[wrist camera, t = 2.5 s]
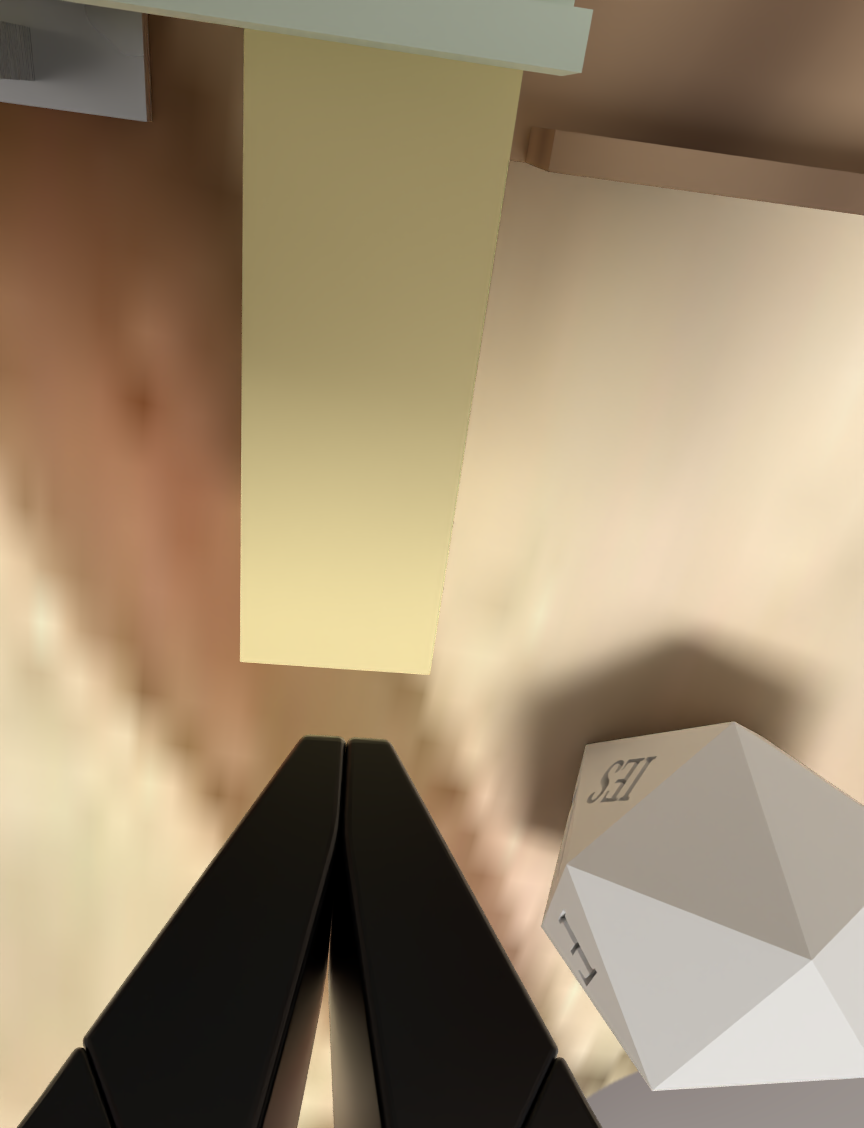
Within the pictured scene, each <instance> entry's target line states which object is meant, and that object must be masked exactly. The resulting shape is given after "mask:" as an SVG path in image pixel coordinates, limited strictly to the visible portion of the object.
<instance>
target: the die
mask: <svg viewBox="0 0 864 1128" xmlns="http://www.w3.org/2000/svg"><path fill="white" fill-rule="evenodd" d="M572 803H573V804H572V807H571V809H570V812H569V815H568V819H567V823H566V828H565V832H564V836H563V840H562V844H561V848H560V852H559V856H558V860H557V864H556V868H555V872H554V876H553V880H552V884H551V888H550V892H549V897H548V901H547V905H546V909H545V913H544V917H543V921H542V925H541V927H542V928H543V930H544V931H545V933H546V934H547V936H548V937H549V939H550V940H551V942H552V943H553V945H554V946H555V948H556V949H557V951H558V952H559V954H560V955H561V957H562V958H563V960H564V961H565V963H566V964H567V966H568V967H569V969H570V970H571V972H572V973H573V974H574V976H575V977H576V979H577V980H578V982H579V983H580V985H581V986H582V988H583V989H584V991H585V992H586V994H587V995H588V997H589V998H590V1000H591V1001H592V1003H593V1004H594V1006H595V1007H596V1009H597V1010H598V1012H599V1013H600V1015H601V1016H602V1017H603V1019H604V1020H605V1022H606V1023H607V1025H608V1026H609V1028H610V1029H611V1031H612V1032H613V1034H614V1035H615V1037H616V1038H617V1040H618V1041H619V1043H620V1044H621V1046H622V1047H623V1049H624V1050H625V1052H626V1053H627V1055H628V1056H629V1058H630V1059H631V1061H632V1062H633V1063H634V1065H635V1066H636V1068H637V1069H638V1071H639V1072H640V1074H641V1075H642V1077H643V1078H644V1080H645V1081H646V1083H647V1084H648V1086H649V1087H650V1089H651V1090H652V1091H658V1090H674V1089H690V1088H705V1087H720V1086H721V1087H722V1086H737V1085H753V1084H768V1083H784V1082H801V1081H816V1080H833V1079H848V1078H864V806H863V805H862V804H861V803H859V802H858V801H856V800H855V799H853V798H852V797H850V796H849V795H847V794H846V793H844V792H843V791H841V790H840V789H839V788H837V787H836V786H834V785H833V784H831V783H830V782H828V781H827V780H825V779H824V778H822V777H821V776H819V775H818V774H817V773H815V772H814V771H812V770H811V769H809V768H808V767H806V766H805V765H803V764H802V763H800V762H799V761H797V760H796V759H795V758H793V757H792V756H790V755H789V754H787V753H786V752H784V751H783V750H781V749H780V748H778V747H777V746H775V745H774V744H773V743H771V742H770V741H768V740H767V739H765V738H764V737H762V736H760V735H759V734H757V733H755V732H753V731H751V730H749V729H747V728H745V727H744V726H742V725H740V724H738V723H736V722H734V721H733V722H727V723H720V724H714V725H708V726H701V727H695V728H689V729H682V730H676V731H669V732H663V733H657V734H650V735H644V736H638V737H631V738H625V739H618V740H612V741H606V742H599V743H593V744H586V746H585V750H584V754H583V759H582V763H581V767H580V771H579V775H578V779H577V783H576V787H575V791H574V795H573V799H572Z"/></svg>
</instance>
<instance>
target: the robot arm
mask: <svg viewBox="0 0 864 1128" xmlns="http://www.w3.org/2000/svg"><path fill="white" fill-rule="evenodd" d="M345 751H346V752H345ZM331 922H332V923H331ZM330 933H331V936H330ZM329 943H330V950H329ZM328 953H329V972H328V981H329V1019H330V1043H331V1068H332V1092H333V1116H334V1128H602V1126H601V1124H600V1123H599V1121H598V1119H597V1117H596V1116H595V1114H594V1112H593V1111H592V1109H591V1107H590V1105H589V1103H588V1102H587V1100H586V1098H585V1096H584V1094H583V1092H582V1091H581V1089H580V1087H579V1085H578V1083H577V1081H576V1080H575V1078H574V1076H573V1074H572V1072H571V1070H570V1069H569V1067H568V1065H567V1063H566V1061H565V1060H564V1059H563V1058H560V1057H559V1058H556V1057H557V1054H558V1048H557V1046H556V1044H555V1042H554V1040H553V1038H552V1037H551V1035H550V1033H549V1031H548V1029H547V1027H546V1026H545V1024H544V1022H543V1020H542V1018H541V1016H540V1015H539V1013H538V1011H537V1009H536V1007H535V1005H534V1004H533V1002H532V1000H531V998H530V996H529V994H528V993H527V991H526V989H525V987H524V985H523V983H522V982H521V980H520V978H519V976H518V974H517V972H516V971H515V969H514V967H513V965H512V963H511V961H510V960H509V958H508V956H507V954H506V952H505V950H504V949H503V947H502V945H501V943H500V941H499V939H498V938H497V936H496V934H495V932H494V930H493V928H492V927H491V925H490V923H489V921H488V919H487V918H486V916H485V914H484V912H483V910H482V908H481V907H480V905H479V903H478V901H477V899H476V897H475V896H474V894H473V892H472V890H471V888H470V886H469V885H468V883H467V881H466V879H465V877H464V875H463V874H462V872H461V870H460V868H459V866H458V864H457V863H456V861H455V859H454V857H453V855H452V853H451V852H450V850H449V848H448V846H447V844H446V842H445V841H444V839H443V837H442V835H441V833H440V831H439V830H438V828H437V826H436V824H435V822H434V820H433V819H432V817H431V815H430V813H429V811H428V809H427V808H426V806H425V804H424V802H423V800H422V798H421V797H420V795H419V793H418V791H417V789H416V788H415V786H414V784H413V782H412V780H411V778H410V777H409V775H408V773H407V771H406V769H405V767H404V766H403V764H402V762H401V760H400V758H399V756H398V755H397V753H396V751H395V749H394V747H393V746H392V744H391V743H390V742H389V741H387V740H385V739H372V738H356V737H354V738H351V739H349V740H348V742H347V744H346V742H345V740H344V739H343V738H342V737H339V736H324V735H306V736H303V737H302V738H301V739H300V740H299V741H298V743H297V744H296V745H295V747H294V748H293V750H292V751H291V752H290V754H289V755H288V757H287V758H286V759H285V761H284V762H283V763H282V765H281V766H280V768H279V769H278V770H277V772H276V773H275V774H274V776H273V777H272V779H271V780H270V781H269V783H268V784H267V785H266V787H265V788H264V790H263V791H262V792H261V794H260V795H259V797H258V798H257V799H256V801H255V802H254V803H253V805H252V806H251V808H250V809H249V810H248V812H247V813H246V814H245V816H244V817H243V819H242V820H241V821H240V823H239V824H238V825H237V827H236V828H235V830H234V831H233V832H232V834H231V835H230V836H229V838H228V839H227V841H226V842H225V843H224V845H223V846H222V848H221V849H220V850H219V852H218V853H217V854H216V856H215V857H214V859H213V860H212V861H211V863H210V864H209V865H208V867H207V868H206V870H205V871H204V872H203V874H202V875H201V876H200V878H199V879H198V881H197V882H196V883H195V885H194V886H193V887H192V889H191V890H190V892H189V893H188V894H187V896H186V897H185V899H184V900H183V901H182V903H181V904H180V905H179V907H178V908H177V910H176V911H175V912H174V914H173V915H172V916H171V918H170V919H169V921H168V922H167V923H166V925H165V926H164V927H163V929H162V930H161V932H160V933H159V934H158V936H157V937H156V938H155V940H154V941H153V943H152V944H151V945H150V947H149V948H148V950H147V951H146V952H145V954H144V955H143V956H142V958H141V959H140V961H139V962H138V963H137V965H136V966H135V967H134V969H133V970H132V972H131V973H130V974H129V976H128V977H127V978H126V980H125V981H124V983H123V984H122V985H121V987H120V988H119V989H118V991H117V992H116V994H115V995H114V996H113V998H112V999H111V1001H110V1002H109V1003H108V1005H107V1006H106V1007H105V1009H104V1010H103V1012H102V1013H101V1014H100V1016H99V1017H98V1018H97V1020H96V1021H95V1023H94V1024H93V1025H92V1027H91V1028H90V1029H89V1031H88V1032H87V1034H86V1035H85V1036H84V1038H83V1046H84V1048H81V1047H79V1048H76V1049H75V1050H74V1051H73V1052H72V1053H71V1055H70V1056H69V1058H68V1059H67V1060H66V1062H65V1063H64V1065H63V1066H62V1067H61V1069H60V1070H59V1071H58V1073H57V1074H56V1076H55V1077H54V1078H53V1080H52V1081H51V1082H50V1084H49V1085H48V1087H47V1088H46V1089H45V1091H44V1092H43V1093H42V1095H41V1096H40V1098H39V1099H38V1100H37V1102H36V1103H35V1104H34V1106H33V1107H32V1108H31V1109H30V1111H29V1112H28V1113H27V1115H26V1116H25V1117H24V1119H23V1120H22V1121H21V1123H20V1124H19V1125H18V1126H17V1128H297V1125H298V1120H299V1115H300V1110H301V1105H302V1100H303V1095H304V1090H305V1084H306V1079H307V1074H308V1069H309V1064H310V1059H311V1054H312V1049H313V1043H314V1038H315V1033H316V1028H317V1023H318V1018H319V1013H320V1008H321V1002H322V997H323V991H324V984H325V978H326V972H327V962H328Z"/></svg>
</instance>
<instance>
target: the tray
mask: <svg viewBox="0 0 864 1128" xmlns="http://www.w3.org/2000/svg"><path fill="white" fill-rule="evenodd" d="M574 7H580V8H586V9H592V10H593V14H592V20H591V25H590V30H589V36H588V41H587V46H586V52H585V57H584V63H583V68H582V73H577V74H571V75H565V76H557V75H551V74H544V73H538V72H531V71H524V70H523V76H522V82H521V89H520V95H519V101H518V108H517V114H516V121H515V127H514V134H513V140H512V147H511V153H510V160H511V161H519V162H526V163H528V164H531V165H533V166H535V167H538V168H540V169H543V170H545V171H548V172H554V173H561V174H569V175H576V176H583V177H590V178H598V179H605V180H612V181H619V182H627V183H634V184H641V185H648V186H656V187H663V188H670V189H677V190H684V191H692V192H699V193H706V194H713V195H721V196H728V197H735V198H742V199H750V200H757V201H764V202H771V203H779V204H786V205H793V206H800V207H808V208H815V209H822V210H829V211H837V212H844V213H851V214H858V215H864V0H575V3H574Z"/></svg>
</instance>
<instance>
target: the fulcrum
mask: <svg viewBox="0 0 864 1128" xmlns="http://www.w3.org/2000/svg"><path fill="white" fill-rule="evenodd" d="M0 102H6V103H13V104H21V105H28V106H35V107H42V108H50V109H57V110H64V111H71V112H79V113H86V114H93V115H101V116H108V117H115V118H122V119H130V120H137V121H144V122H152V100H151V77H150V55H149V32H148V13H141V12H135V11H128V10H121V9H115V8H108V7H102V6H95V5H88V4H82V3H75V2H69V1H62V0H0Z"/></svg>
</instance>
